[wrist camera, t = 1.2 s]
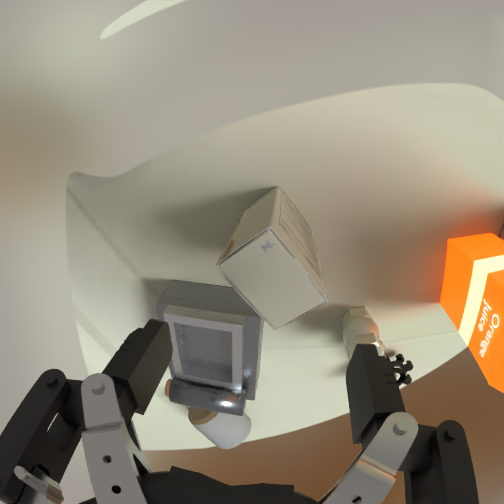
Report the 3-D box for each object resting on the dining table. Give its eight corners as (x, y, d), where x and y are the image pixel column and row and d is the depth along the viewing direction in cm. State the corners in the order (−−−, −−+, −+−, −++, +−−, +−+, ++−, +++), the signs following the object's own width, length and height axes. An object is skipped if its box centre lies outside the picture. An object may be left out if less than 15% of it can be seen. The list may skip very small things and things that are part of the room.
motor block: (265, 290, 31) (255, 341, 23) (259, 373, 36) (250, 422, 28) (173, 279, 32) (141, 322, 24) (185, 361, 37) (164, 405, 30)
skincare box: (243, 210, 27) (208, 262, 16) (278, 184, 26) (267, 220, 15) (282, 258, 29) (273, 334, 18) (316, 235, 27) (330, 303, 16)
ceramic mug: (225, 383, 38) (213, 423, 31) (255, 410, 40) (247, 448, 33) (179, 395, 42) (164, 428, 35) (209, 419, 44) (198, 451, 37)
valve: (324, 320, 31) (366, 371, 34) (329, 359, 25) (373, 407, 28) (372, 292, 29) (406, 349, 32) (386, 327, 23) (419, 383, 26)
